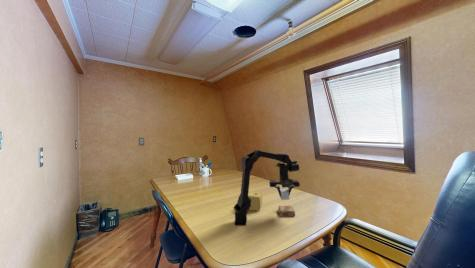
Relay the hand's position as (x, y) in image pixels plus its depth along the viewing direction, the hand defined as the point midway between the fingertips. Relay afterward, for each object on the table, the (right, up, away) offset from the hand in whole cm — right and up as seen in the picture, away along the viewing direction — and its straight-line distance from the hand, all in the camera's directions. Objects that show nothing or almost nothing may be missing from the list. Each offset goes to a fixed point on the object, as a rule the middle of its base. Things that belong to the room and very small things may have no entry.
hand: (284, 196), depth 125 cm
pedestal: (+2, -12, +2) cm, 12 cm away
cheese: (-19, -12, +11) cm, 25 cm away
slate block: (0, -1, 0) cm, 1 cm away
